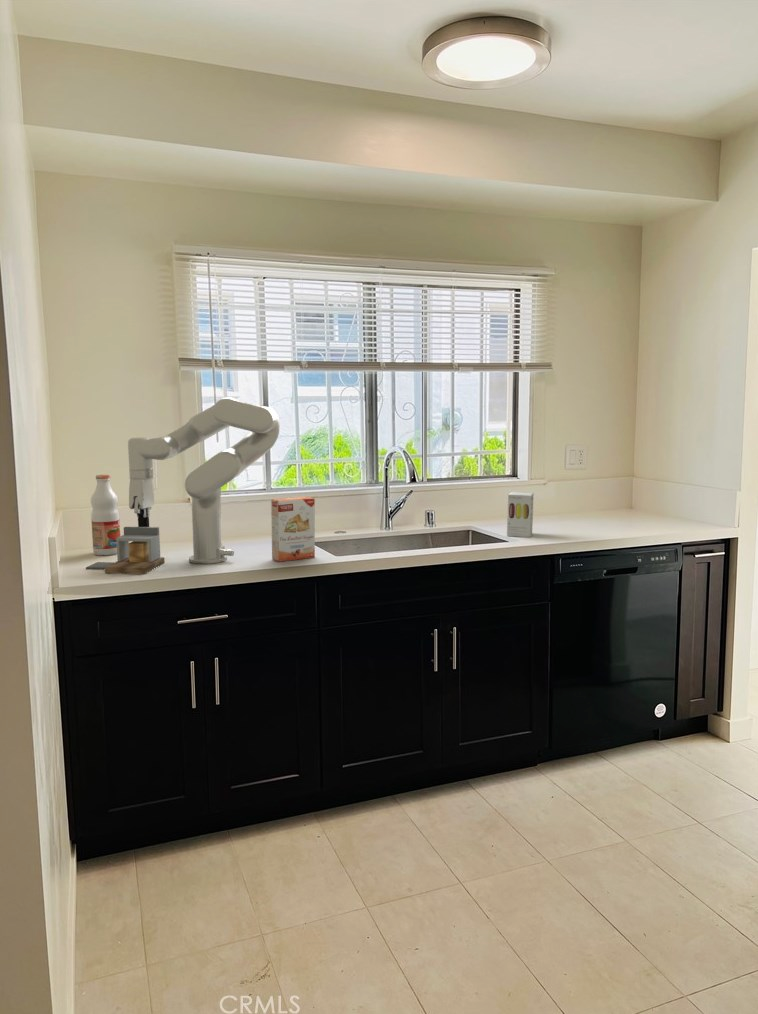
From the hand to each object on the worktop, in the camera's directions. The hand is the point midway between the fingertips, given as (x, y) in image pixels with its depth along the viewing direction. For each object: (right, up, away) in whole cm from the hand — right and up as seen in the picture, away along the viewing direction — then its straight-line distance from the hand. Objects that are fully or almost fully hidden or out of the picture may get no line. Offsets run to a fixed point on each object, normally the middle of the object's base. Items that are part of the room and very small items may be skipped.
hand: (143, 528), depth 253 cm
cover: (+1, -10, -7) cm, 12 cm away
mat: (-11, -12, -7) cm, 18 cm away
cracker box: (+50, -11, +4) cm, 52 cm away
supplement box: (+136, -4, +48) cm, 144 cm away
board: (0, -13, -10) cm, 16 cm away
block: (+1, -12, -6) cm, 14 cm away
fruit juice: (-18, -9, +14) cm, 25 cm away
